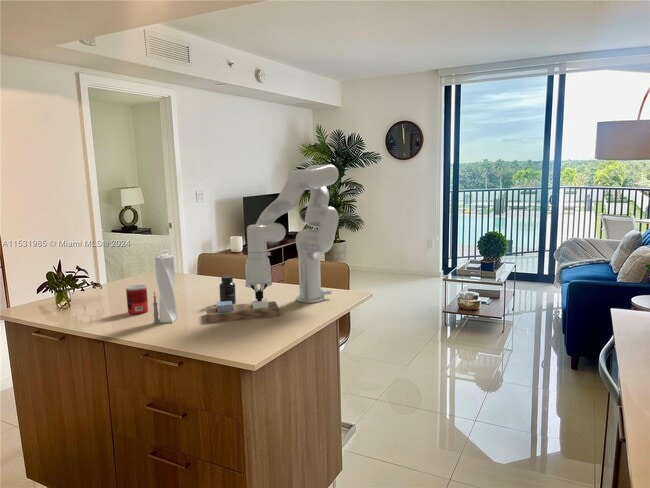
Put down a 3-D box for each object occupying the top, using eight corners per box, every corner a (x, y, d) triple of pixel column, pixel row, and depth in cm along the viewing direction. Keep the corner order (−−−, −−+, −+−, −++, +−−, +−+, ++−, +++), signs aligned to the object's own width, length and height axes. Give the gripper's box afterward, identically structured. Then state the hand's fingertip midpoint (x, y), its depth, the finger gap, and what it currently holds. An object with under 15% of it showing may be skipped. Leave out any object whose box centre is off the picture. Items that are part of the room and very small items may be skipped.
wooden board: (275, 308, 201) (275, 301, 201) (279, 316, 190) (279, 308, 189) (207, 314, 195) (206, 307, 194) (207, 322, 183) (206, 315, 183)
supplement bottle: (232, 306, 206) (230, 278, 205) (217, 305, 208) (216, 278, 206) (238, 301, 213) (237, 275, 211) (224, 301, 214) (222, 275, 213)
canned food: (152, 310, 202) (150, 285, 201) (139, 315, 195) (137, 289, 193) (137, 309, 205) (135, 284, 203) (124, 314, 197) (121, 288, 196)
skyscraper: (161, 318, 192) (156, 249, 188) (181, 317, 192) (176, 248, 188) (153, 324, 183) (148, 252, 179) (174, 324, 183) (169, 252, 179)
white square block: (266, 305, 197) (266, 297, 197) (268, 309, 191) (268, 301, 191) (252, 306, 196) (251, 299, 195) (253, 310, 190) (253, 302, 190)
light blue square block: (232, 308, 194) (231, 300, 193) (232, 312, 188) (232, 304, 188) (217, 309, 192) (216, 302, 192) (217, 313, 187) (216, 305, 186)
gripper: (275, 253, 196) (276, 296, 198) (238, 255, 192) (240, 299, 195) (277, 256, 189) (279, 301, 191) (239, 258, 185) (241, 304, 188)
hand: (259, 300), depth 193 cm, fingers closed
